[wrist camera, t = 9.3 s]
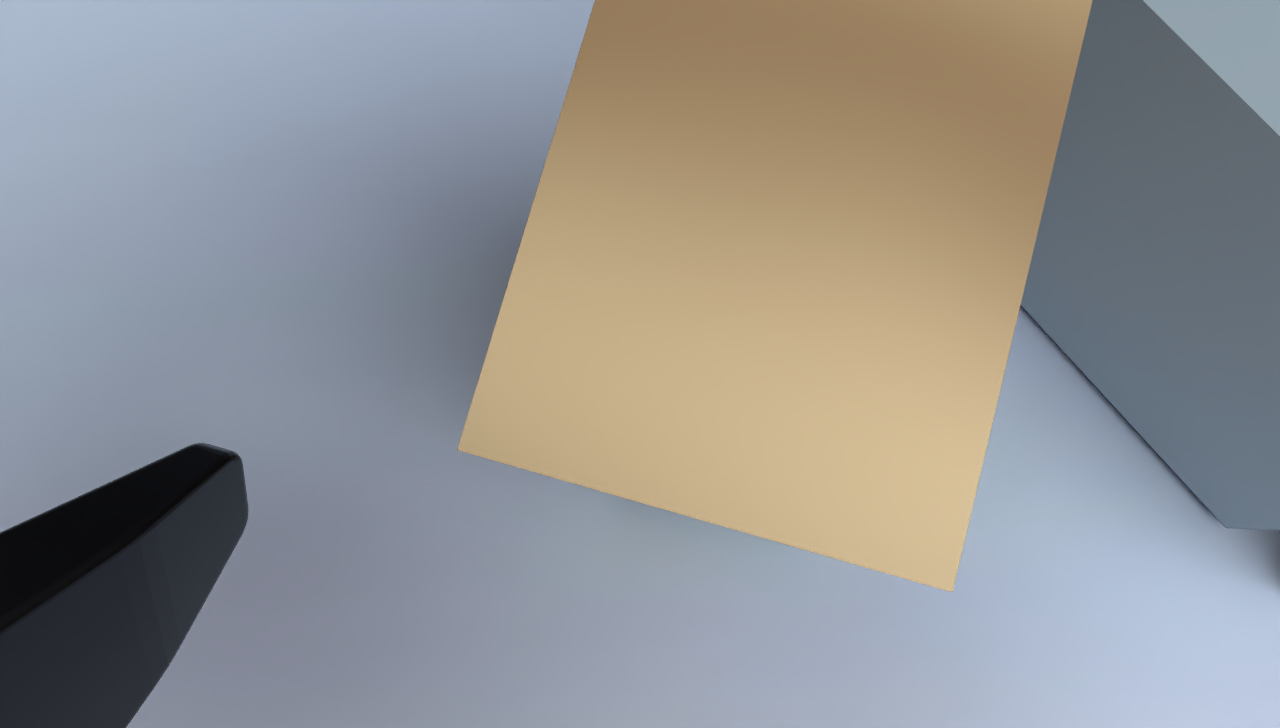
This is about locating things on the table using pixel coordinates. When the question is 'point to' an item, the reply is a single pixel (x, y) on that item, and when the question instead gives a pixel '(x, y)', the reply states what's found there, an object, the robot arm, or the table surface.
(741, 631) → the table surface
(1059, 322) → the door
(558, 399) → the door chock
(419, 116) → the table surface
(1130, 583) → the table surface
